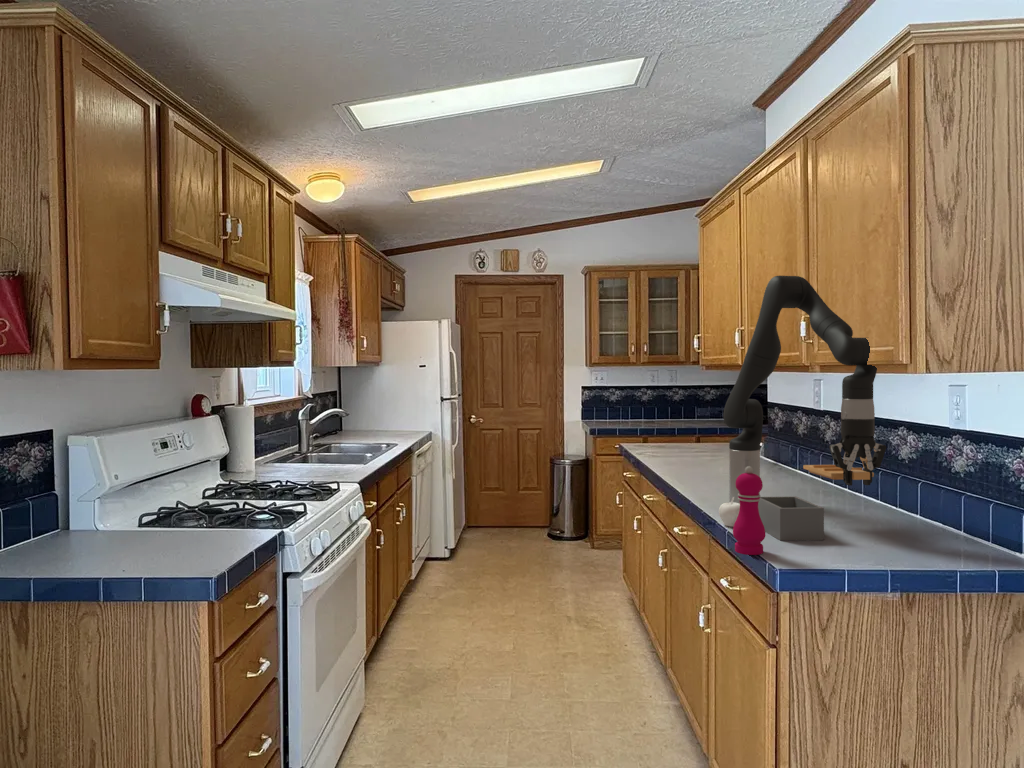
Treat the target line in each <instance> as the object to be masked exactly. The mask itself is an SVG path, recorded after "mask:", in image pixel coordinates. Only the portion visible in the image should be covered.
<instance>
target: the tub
mask: <svg viewBox="0 0 1024 768" xmlns="http://www.w3.org/2000/svg"><path fill="white" fill-rule="evenodd" d="M758 510H759V515H760V518H761V520H762V523H763V525H764V528H765V533H767V534H768V535H770V536H772V537H773V538H775V539H776V540H779V541H824V540H825V507H822V506H820V505H818V504H815V503H813V502H810V501H807V500H805V499H803V498H801V497H798V496H794V495H793V496H792V495H791V496H760V501H759V502H758Z"/></svg>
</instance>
